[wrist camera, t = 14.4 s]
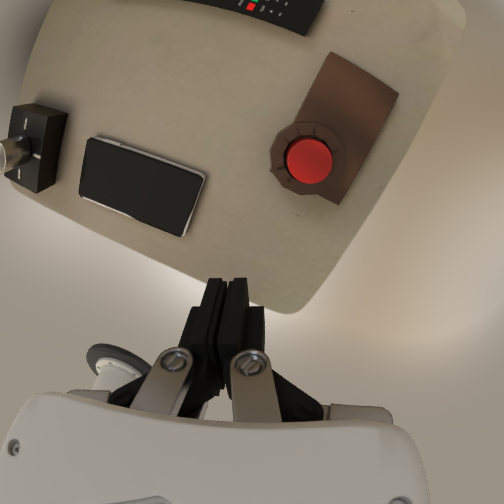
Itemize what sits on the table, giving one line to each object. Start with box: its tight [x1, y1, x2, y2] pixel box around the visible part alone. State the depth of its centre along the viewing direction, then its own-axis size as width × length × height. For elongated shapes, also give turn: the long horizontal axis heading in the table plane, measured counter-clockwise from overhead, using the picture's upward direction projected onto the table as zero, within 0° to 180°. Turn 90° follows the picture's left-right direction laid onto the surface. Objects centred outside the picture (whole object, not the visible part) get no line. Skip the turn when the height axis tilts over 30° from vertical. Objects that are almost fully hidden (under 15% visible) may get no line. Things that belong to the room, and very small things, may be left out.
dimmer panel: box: [4, 103, 68, 194], centre depth 24 cm, size 10×8×4 cm
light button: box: [286, 138, 333, 184], centre depth 23 cm, size 4×4×2 cm
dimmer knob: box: [0, 134, 31, 175], centre depth 21 cm, size 4×4×5 cm
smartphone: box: [78, 136, 205, 237], centre depth 28 cm, size 8×1×15 cm
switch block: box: [270, 52, 398, 205], centre depth 23 cm, size 14×9×3 cm, turn 156°
